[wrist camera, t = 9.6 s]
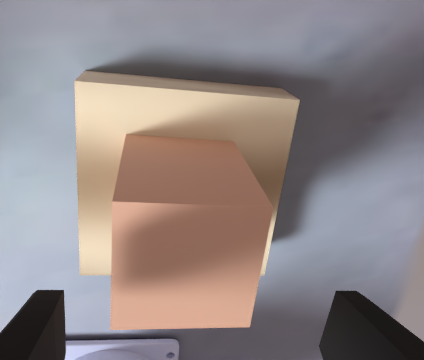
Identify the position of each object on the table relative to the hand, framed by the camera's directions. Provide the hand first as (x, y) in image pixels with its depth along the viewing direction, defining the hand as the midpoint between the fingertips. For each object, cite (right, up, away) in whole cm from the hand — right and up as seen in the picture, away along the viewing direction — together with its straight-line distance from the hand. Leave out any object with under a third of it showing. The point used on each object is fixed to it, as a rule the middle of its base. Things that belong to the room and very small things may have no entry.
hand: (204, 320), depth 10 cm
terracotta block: (-1, +3, +7) cm, 8 cm away
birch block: (-1, +4, +10) cm, 11 cm away
